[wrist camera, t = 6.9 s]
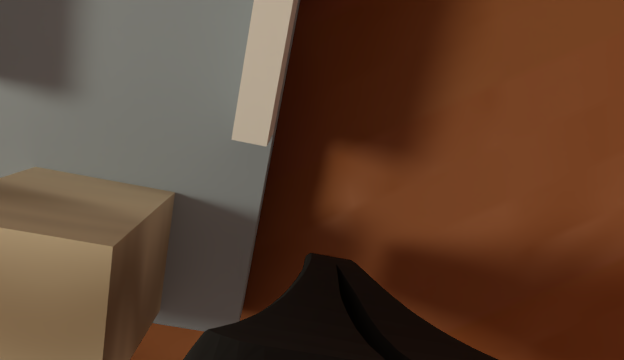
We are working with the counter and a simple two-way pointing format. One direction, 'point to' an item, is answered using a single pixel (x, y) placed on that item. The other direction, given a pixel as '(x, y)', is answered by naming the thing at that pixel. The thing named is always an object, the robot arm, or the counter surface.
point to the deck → (145, 125)
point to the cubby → (263, 70)
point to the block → (79, 265)
